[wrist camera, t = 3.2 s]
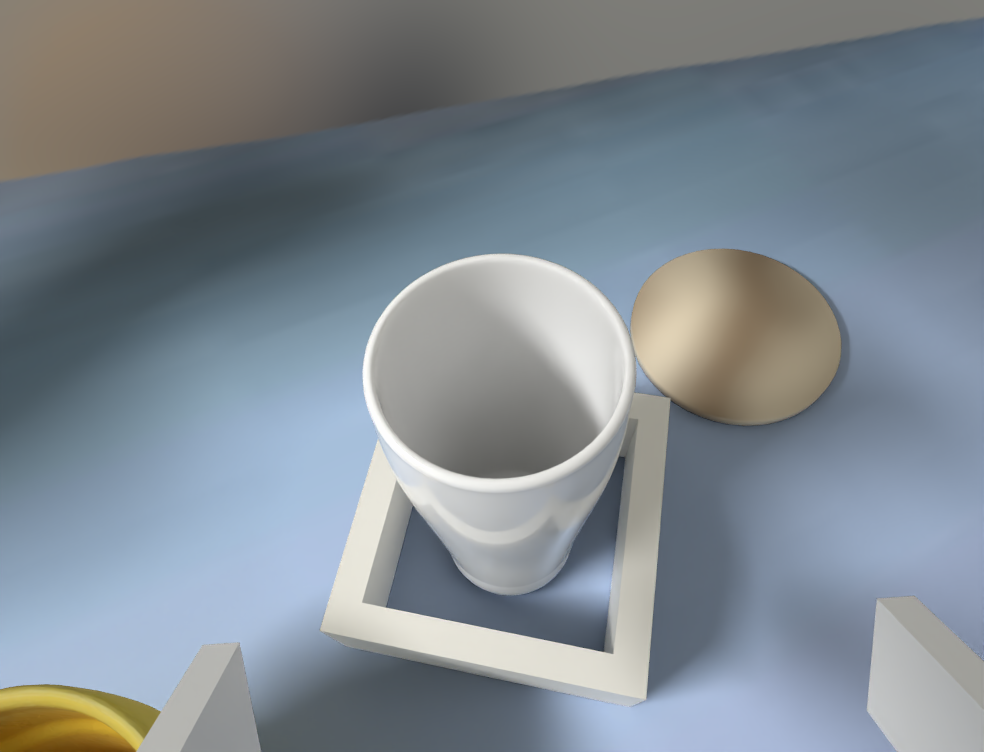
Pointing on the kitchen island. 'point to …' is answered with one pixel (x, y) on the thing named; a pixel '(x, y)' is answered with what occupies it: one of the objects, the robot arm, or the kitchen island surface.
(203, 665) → the robot arm
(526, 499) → the white cup
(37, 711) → the plant pot
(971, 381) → the kitchen island surface
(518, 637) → the square holder
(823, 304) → the wooden coaster
